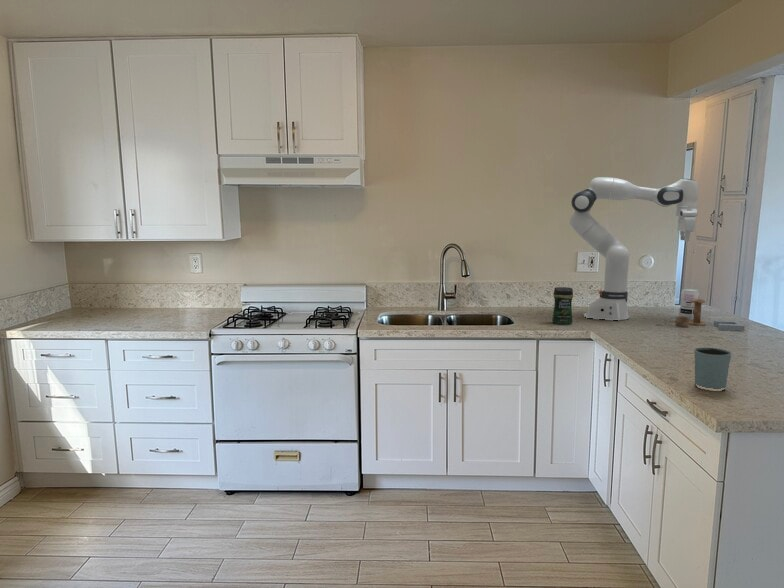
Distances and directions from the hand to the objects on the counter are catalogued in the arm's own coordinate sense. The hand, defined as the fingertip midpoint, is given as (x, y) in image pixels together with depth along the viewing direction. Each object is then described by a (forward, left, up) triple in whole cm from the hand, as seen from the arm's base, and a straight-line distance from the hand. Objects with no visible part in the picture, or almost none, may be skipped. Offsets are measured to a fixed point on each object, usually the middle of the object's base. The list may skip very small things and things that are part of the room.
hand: (684, 240), depth 266 cm
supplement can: (+6, +9, -41) cm, 42 cm away
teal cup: (-10, -109, -41) cm, 117 cm away
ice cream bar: (-3, -13, -41) cm, 43 cm away
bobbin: (+7, -5, -41) cm, 42 cm away
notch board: (+19, -12, -41) cm, 46 cm away
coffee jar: (-56, -17, -41) cm, 72 cm away
